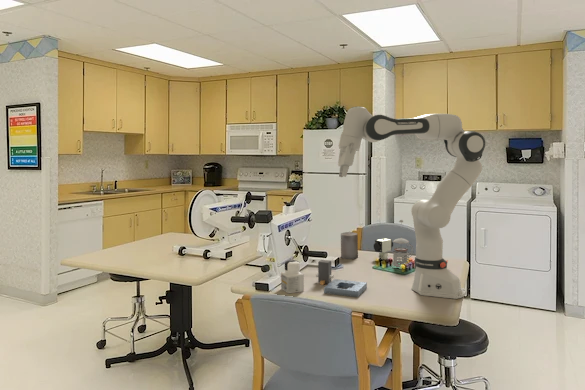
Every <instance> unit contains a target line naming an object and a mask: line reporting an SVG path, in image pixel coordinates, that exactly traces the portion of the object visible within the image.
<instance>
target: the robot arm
mask: <svg viewBox="0 0 585 390" xmlns="http://www.w3.org/2000/svg"><path fill="white" fill-rule="evenodd" d="M342 127H343V128H342V129H343V130H342V132H341V134H340V138H339V142H338V148H339V153H338V154H339V156H338V161H337V162H338V163H337V165H338V167H339V173H338V177H339V178H344V177H345V178H346V177H347V174H348V172H349V169H350V167H351V166H353V164H354V160H355V154H356V152H359V151H360V149H361V144H362V139H363V140H364V141H367V142H369V143H377V142H379V141H383V140H386V139H387V138H389V137H391V136H395V135H396V136H397V135H414V136H416V137H417V138H418V140H421V141H422V140H424V141H442V140H443V143H444V146H445V150H446V151H447V154H449V155H450V156H451V157H454V158H456V160H455V162H454V165H453V166H452V167H451V168H450V170H449V171H448V172H447V173H445V175H444V177H442V179H441V180H440V181H439V182H438V183H437V185H436V188H435V191H434V193H433V194H432V197H431V198H430V199H425V198H424V199H420V200H418V201H416V202H415V203H413V205H412V206H411V210H410V211H411V216H412V219H413V220H412V221H413V228H414V233H415V257H414V262H413V263H414V265H413V266H414V277H413V281H412V282H413V283H412V286H411V290H412V291H414V292H416V293H417V294H418V295H420V296H425V297H435V298H445V299H456V300H457V299H461V298H463V297H465V296H466V295H467V290H466V289H465V288H464V287H462V284H461V283H462V282H461V279H460V278H459V276H458V275H456V274H455V273H454V272H453V271H451V270H450V268H448V261H449V260H448V259H447V260H446V259H444V258H443V249H444V248H443V245H444V244H443V242H444V241H443V237H442V235H441V229H443V228H445V227H447V225H448V224H449V223H450V221H451V216H452V213H453V211H454V210H455V208H456V206H457V204H458V203H459V201H460V200H461V199H462V198H463V196H464V195H465V194H466V193H467V192H468V190H469V189H470V188H471V187H472V186H473V185H474V184H475V182H476V180H477V179H478V177H479V176H480V175H481V173H482V170H483V164H482V162H481V161H480V159H482V158H483V157H482V156H483V153H484V150H485V148H486V139H485V137H484V135H482V134H481V133H480V132H477V131H476V130H475V131H473V130H469V131H468V130H464V128H463V122H462V119H461V118H460V117H459V116H458V115H456V114H452V113H451V114H450V113H429V114H423V115H419V116H417V117H412V118H410V117H409V118H392V117H389V116H387V115H383V114H376V115H373V114H371V113H370V112H369V111H368V109H367V108H366V107H364V106H352V107H351V108H349V109H348V110H347V112H346V115H345V118H344V121H343V126H342Z"/></svg>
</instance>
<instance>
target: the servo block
mask: <svg viewBox="0 0 585 390" xmlns="http://www.w3.org/2000/svg"><path fill="white" fill-rule="evenodd" d="M317 267H318V268H317V271H318V272H317V273H316V274H315V277H316V278H318V279H317V282H318V284H320V285H322V286H324V285H328V284H329V283H330V282H332V279H333V278H334V277H335V276H334V274H332V260H326V259H325V260H324V259H321V260H318V261H317ZM334 279H335V278H334Z"/></svg>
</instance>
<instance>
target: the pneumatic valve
mask: <svg viewBox="0 0 585 390" xmlns="http://www.w3.org/2000/svg"><path fill="white" fill-rule="evenodd" d="M393 247H394V242H393V239H391V238H386V237H382V238H379V239H375V240H374V243H373V250H374V252H376V253H378V259H379V258H381V259H380V260H383V259H385V260H388V257H389V254H388V252H391V251H392V250H393Z"/></svg>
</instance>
